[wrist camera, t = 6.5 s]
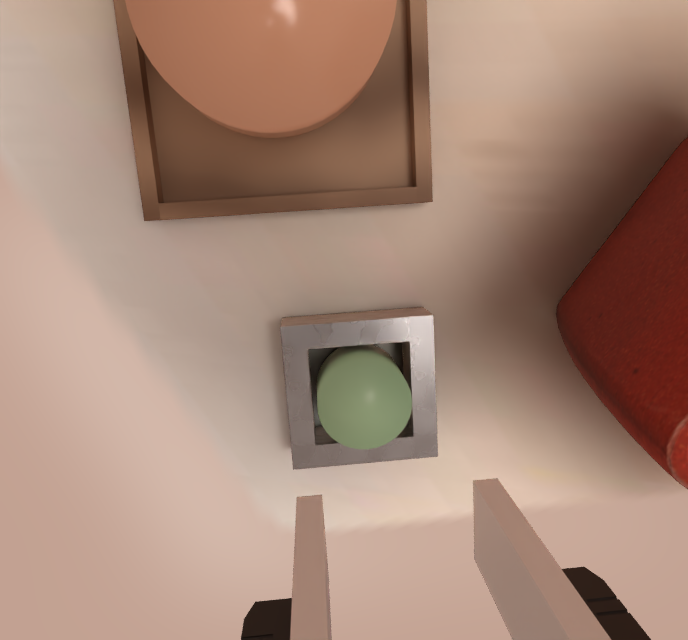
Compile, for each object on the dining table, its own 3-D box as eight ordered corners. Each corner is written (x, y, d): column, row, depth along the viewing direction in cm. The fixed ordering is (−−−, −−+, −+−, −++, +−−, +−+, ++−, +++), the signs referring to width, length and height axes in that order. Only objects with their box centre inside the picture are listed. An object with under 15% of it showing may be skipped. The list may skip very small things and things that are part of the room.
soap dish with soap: (282, 317, 29) (280, 326, 27) (423, 306, 30) (433, 315, 27) (294, 449, 31) (293, 469, 29) (427, 437, 31) (437, 456, 29)
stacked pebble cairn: (175, -36, 25) (100, -172, 16) (363, -44, 25) (391, -182, 16) (198, 161, 27) (142, 135, 18) (373, 150, 27) (403, 120, 18)
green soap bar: (313, 346, 29) (313, 363, 26) (399, 339, 29) (410, 355, 26) (319, 427, 30) (321, 453, 27) (402, 420, 30) (413, 445, 27)
